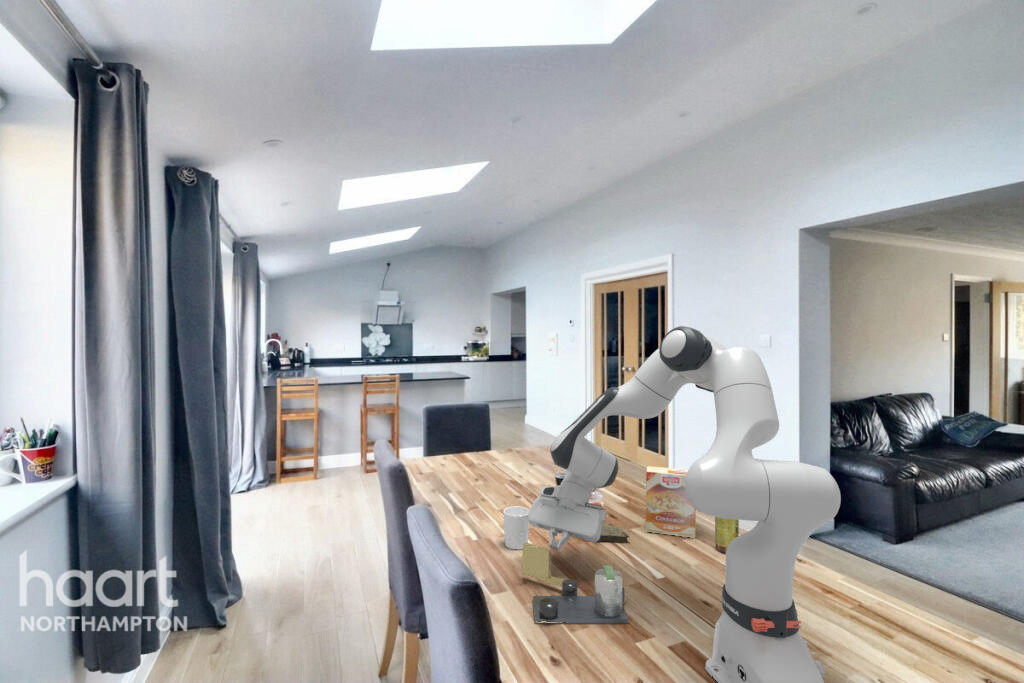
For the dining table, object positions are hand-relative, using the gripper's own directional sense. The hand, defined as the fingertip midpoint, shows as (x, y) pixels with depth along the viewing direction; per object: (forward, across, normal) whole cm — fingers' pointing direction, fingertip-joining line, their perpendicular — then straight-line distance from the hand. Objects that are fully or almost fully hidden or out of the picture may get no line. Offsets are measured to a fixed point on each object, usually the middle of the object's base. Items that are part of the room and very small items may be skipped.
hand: (554, 548), depth 121 cm
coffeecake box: (-28, -16, -38) cm, 50 cm away
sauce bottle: (-25, -33, -36) cm, 55 cm away
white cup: (-2, +18, -13) cm, 22 cm away
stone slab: (-17, +4, -28) cm, 34 cm away
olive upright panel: (+8, -1, -1) cm, 9 cm away
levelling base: (+12, -12, +2) cm, 17 cm away
